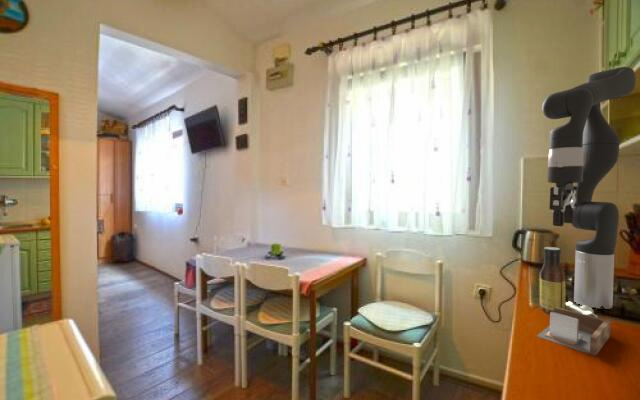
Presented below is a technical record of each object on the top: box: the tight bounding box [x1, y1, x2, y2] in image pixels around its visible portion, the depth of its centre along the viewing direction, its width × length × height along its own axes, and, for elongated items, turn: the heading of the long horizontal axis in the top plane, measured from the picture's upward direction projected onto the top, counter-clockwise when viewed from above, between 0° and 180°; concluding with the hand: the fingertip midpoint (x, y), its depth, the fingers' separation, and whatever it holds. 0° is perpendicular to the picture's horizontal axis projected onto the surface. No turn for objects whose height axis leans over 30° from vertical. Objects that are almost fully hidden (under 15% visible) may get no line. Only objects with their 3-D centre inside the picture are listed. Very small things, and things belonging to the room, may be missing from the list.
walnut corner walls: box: [554, 307, 612, 357], centre depth 77 cm, size 14×11×4 cm
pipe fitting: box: [565, 301, 599, 318], centre depth 88 cm, size 8×4×7 cm
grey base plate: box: [536, 324, 593, 355], centre depth 78 cm, size 14×11×1 cm
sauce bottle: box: [539, 246, 566, 314], centre depth 92 cm, size 7×6×20 cm
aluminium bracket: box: [549, 312, 583, 345], centre depth 77 cm, size 6×4×6 cm
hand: (563, 224), depth 84 cm, fingers open, 8 cm apart
